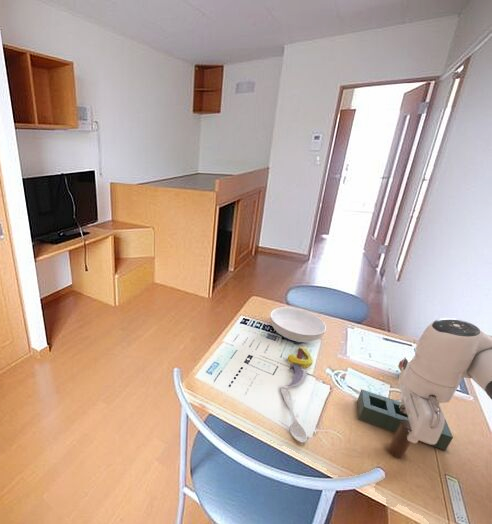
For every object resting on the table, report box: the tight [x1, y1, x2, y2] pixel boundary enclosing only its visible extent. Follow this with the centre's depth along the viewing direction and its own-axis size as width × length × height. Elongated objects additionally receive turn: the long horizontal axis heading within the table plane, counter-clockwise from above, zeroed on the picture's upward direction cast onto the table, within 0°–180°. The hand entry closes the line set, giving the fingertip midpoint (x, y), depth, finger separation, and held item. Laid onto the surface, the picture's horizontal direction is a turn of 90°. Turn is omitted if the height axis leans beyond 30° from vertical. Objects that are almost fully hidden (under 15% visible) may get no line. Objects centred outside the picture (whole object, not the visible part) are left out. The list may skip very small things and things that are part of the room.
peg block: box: [356, 389, 454, 451], centre depth 87 cm, size 19×8×5 cm, turn 60°
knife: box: [285, 345, 314, 388], centre depth 107 cm, size 8×3×25 cm
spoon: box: [280, 387, 308, 444], centre depth 90 cm, size 4×21×2 cm, turn 169°
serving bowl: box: [269, 306, 327, 343], centre depth 126 cm, size 21×21×7 cm
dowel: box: [387, 420, 412, 459], centre depth 78 cm, size 3×3×10 cm
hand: (407, 424), depth 76 cm, fingers open, 8 cm apart
